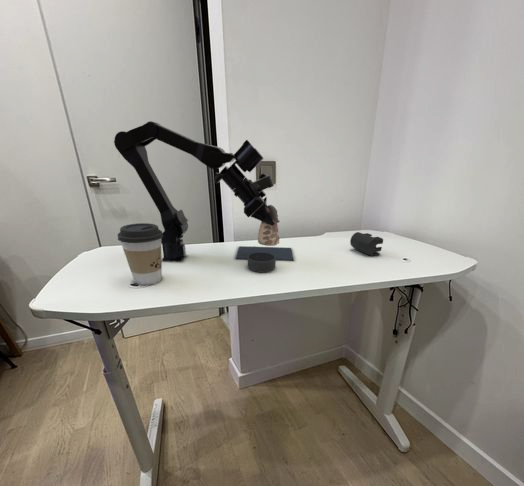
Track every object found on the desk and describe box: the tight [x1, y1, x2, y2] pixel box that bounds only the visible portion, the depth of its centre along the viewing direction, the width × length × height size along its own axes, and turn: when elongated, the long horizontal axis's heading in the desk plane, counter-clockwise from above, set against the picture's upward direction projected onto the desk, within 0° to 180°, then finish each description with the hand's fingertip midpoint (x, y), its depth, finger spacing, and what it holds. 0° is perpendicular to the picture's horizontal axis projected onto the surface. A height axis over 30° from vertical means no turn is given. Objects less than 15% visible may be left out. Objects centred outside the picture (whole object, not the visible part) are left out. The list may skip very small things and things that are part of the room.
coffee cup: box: [117, 222, 163, 286], centre depth 79 cm, size 11×11×15 cm
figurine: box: [257, 204, 281, 247], centre depth 93 cm, size 7×7×12 cm
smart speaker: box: [247, 253, 277, 273], centre depth 92 cm, size 9×9×4 cm
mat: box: [235, 245, 295, 262], centre depth 106 cm, size 20×14×1 cm
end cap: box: [349, 231, 384, 257], centre depth 109 cm, size 10×7×7 cm
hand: (273, 222), depth 92 cm, fingers closed on figurine, 6 cm apart
